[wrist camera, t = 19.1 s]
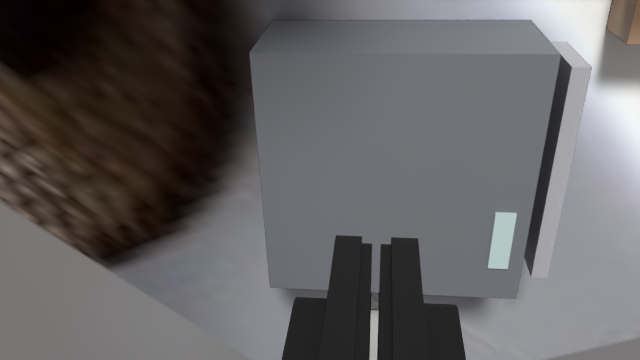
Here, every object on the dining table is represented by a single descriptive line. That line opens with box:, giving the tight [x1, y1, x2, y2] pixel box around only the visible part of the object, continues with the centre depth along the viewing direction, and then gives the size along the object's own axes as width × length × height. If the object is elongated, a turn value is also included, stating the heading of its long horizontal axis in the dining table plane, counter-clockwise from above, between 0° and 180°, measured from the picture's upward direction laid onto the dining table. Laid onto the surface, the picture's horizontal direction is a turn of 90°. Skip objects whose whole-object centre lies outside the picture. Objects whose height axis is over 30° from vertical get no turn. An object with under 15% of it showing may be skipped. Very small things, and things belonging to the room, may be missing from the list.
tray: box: [524, 42, 592, 278], centre depth 36 cm, size 14×17×5 cm
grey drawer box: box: [249, 20, 561, 299], centre depth 37 cm, size 16×16×7 cm
